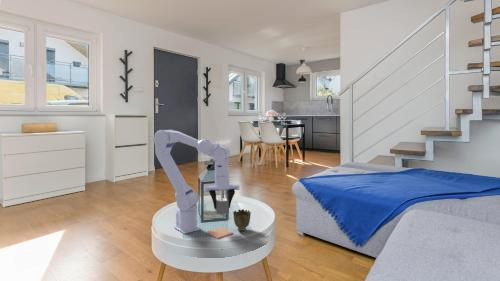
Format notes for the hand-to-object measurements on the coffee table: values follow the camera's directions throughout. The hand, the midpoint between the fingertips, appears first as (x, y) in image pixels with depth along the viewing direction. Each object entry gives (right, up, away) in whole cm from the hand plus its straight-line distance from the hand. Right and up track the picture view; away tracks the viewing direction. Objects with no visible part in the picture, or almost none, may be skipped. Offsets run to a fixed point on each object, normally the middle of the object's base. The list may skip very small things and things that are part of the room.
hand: (222, 207), depth 117 cm
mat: (-1, -10, -1) cm, 10 cm away
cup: (+8, -10, +2) cm, 13 cm away
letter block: (0, -2, 0) cm, 2 cm away
